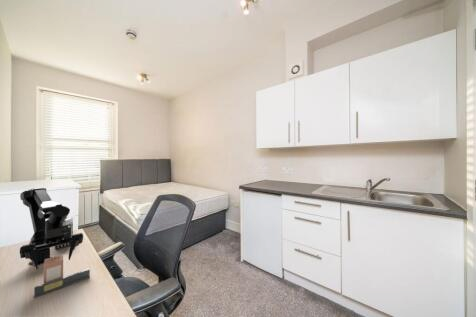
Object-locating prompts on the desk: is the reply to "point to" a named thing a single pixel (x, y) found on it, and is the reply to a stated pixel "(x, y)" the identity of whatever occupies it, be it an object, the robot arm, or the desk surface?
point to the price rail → (61, 283)
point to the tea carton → (53, 268)
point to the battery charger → (66, 236)
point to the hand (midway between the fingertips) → (53, 264)
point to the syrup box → (69, 223)
